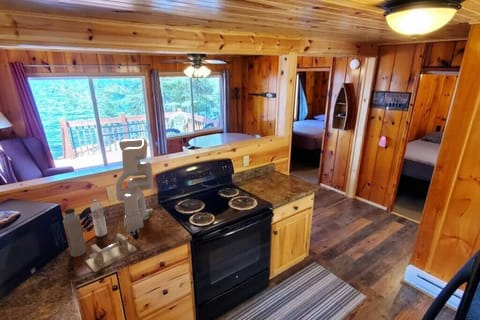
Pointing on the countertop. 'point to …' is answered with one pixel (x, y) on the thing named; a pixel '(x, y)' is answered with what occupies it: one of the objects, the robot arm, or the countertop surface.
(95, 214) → the water bottle
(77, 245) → the thermos bottle
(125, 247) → the bracket
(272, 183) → the countertop surface
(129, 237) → the shaft
